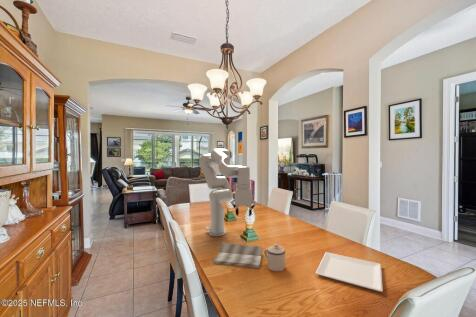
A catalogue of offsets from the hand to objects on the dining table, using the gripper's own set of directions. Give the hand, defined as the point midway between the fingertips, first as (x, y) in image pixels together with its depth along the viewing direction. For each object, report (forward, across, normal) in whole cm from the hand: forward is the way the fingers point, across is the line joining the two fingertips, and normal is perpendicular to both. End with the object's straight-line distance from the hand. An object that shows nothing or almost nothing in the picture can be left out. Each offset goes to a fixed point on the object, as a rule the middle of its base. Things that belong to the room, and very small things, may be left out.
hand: (243, 215), depth 133 cm
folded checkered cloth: (+18, 0, -9) cm, 20 cm away
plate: (+20, +55, -17) cm, 61 cm away
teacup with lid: (+20, +19, -19) cm, 33 cm away
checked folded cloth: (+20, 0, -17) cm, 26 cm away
